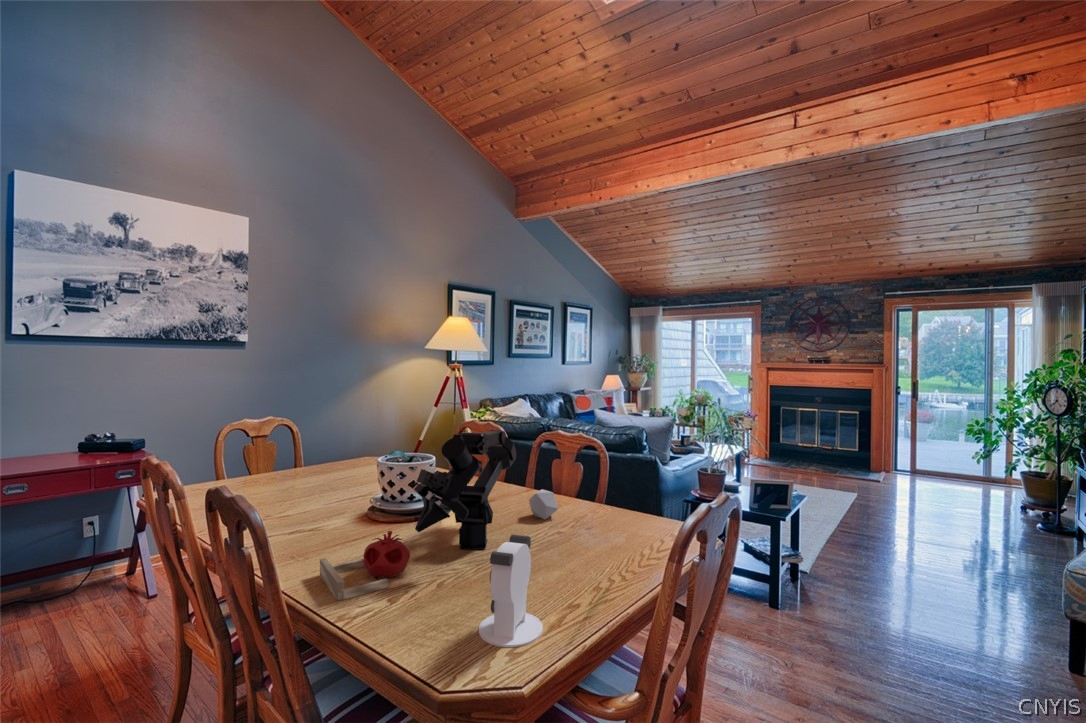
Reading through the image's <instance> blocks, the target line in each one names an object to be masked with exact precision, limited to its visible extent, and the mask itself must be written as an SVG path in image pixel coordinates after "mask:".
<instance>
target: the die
mask: <svg viewBox="0 0 1086 723" xmlns="http://www.w3.org/2000/svg"><path fill="white" fill-rule="evenodd" d="M528 503H529V506H530V511H531V513H532V514H533V516H534V517H536V518H538V519H541V520H544V521H546V520H547V519H548V518H550V517H551V516H552V515H553V514H554V513H556V512H557V511H558V510H559V506H558V503H557V500H556V496H555V494H554V492H553V491H549V490H546V489H540V490H538V491H537V492H535V493H534V494H533V495H532V496H531V497H530V498H529V499H528Z"/></svg>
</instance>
